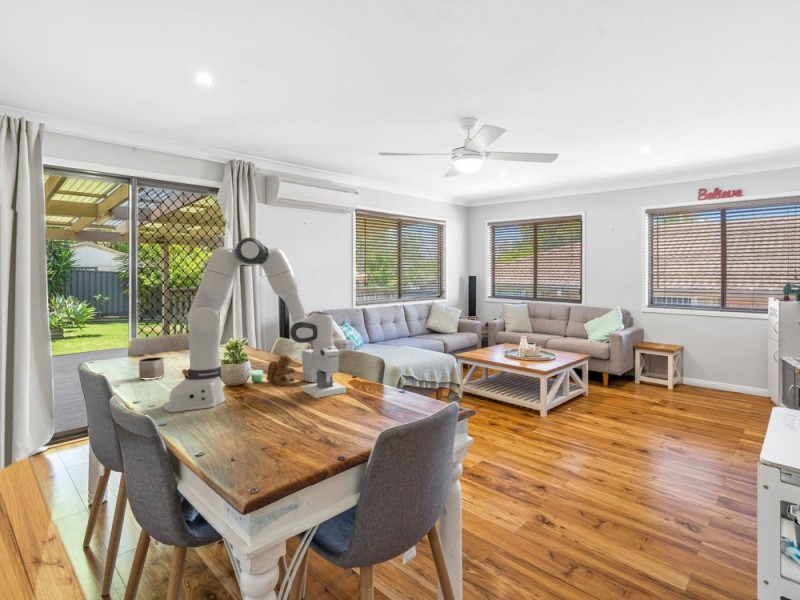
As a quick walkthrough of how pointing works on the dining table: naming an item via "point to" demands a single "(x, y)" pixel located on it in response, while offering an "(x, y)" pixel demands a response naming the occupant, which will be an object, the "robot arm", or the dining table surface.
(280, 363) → the stuffed squirrel
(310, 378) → the skincare box
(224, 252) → the robot arm
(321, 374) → the plug
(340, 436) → the dining table surface
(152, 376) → the planter
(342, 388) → the socket plate
